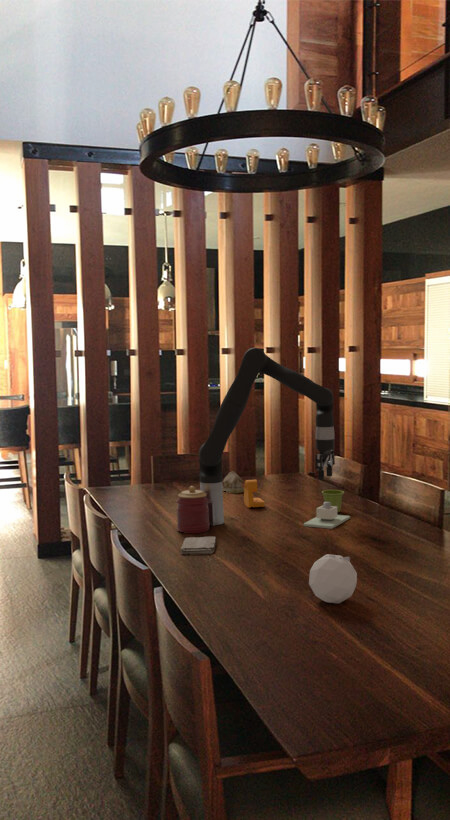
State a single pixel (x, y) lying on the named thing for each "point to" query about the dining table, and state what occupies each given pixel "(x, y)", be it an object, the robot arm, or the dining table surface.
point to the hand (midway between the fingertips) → (325, 477)
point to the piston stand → (326, 520)
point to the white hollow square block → (326, 512)
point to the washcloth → (198, 545)
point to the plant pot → (333, 498)
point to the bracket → (251, 494)
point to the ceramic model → (233, 483)
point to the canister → (192, 511)
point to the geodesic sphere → (333, 578)
